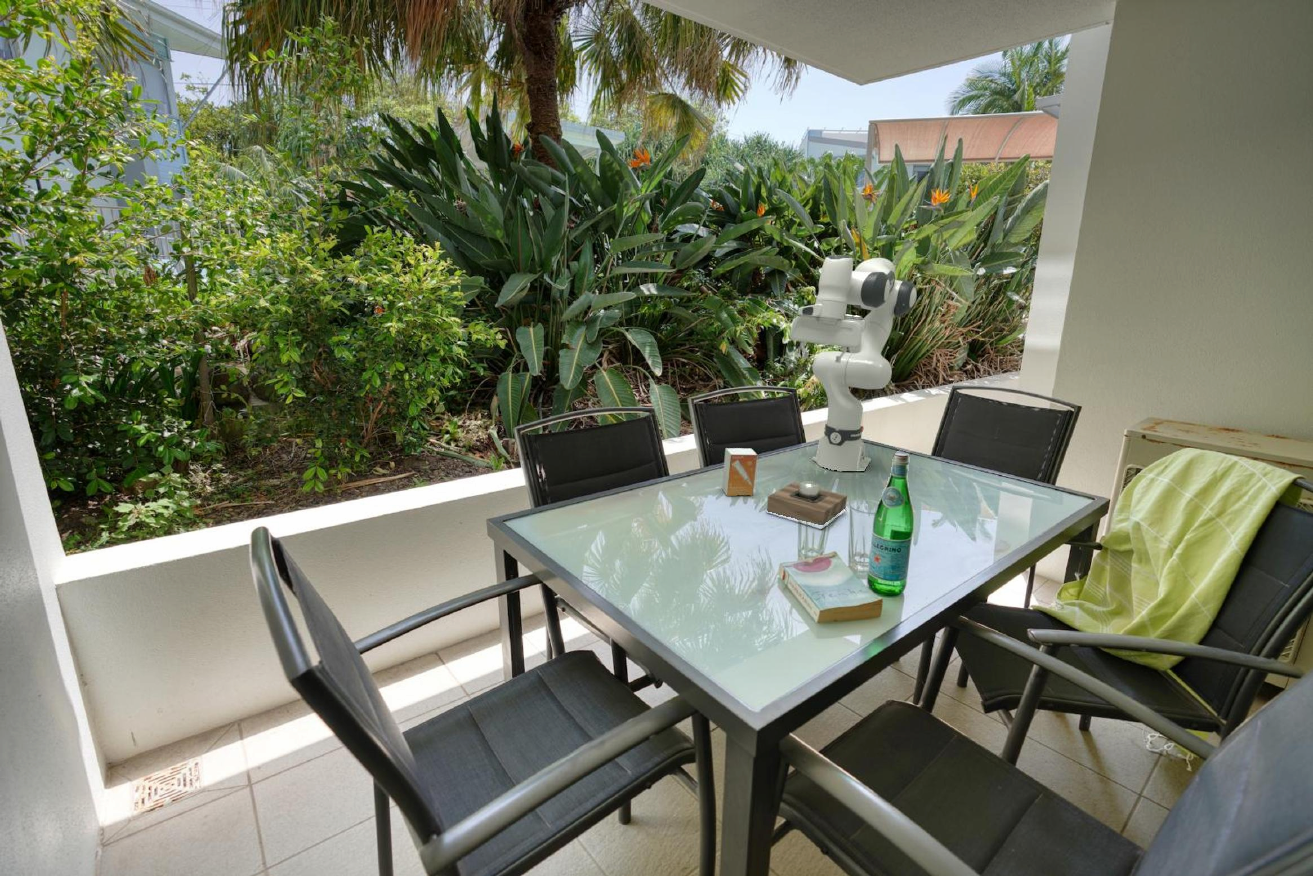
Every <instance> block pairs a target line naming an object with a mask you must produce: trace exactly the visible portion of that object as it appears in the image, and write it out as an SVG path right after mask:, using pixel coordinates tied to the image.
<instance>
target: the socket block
mask: <svg viewBox="0 0 1313 876" xmlns="http://www.w3.org/2000/svg"><path fill="white" fill-rule="evenodd" d="M799 490H800V482H796V481H793V482H791V483H790V484H788V485H785V486H784V487H782V488H780V489H779V490H777V491H775V492H773V493H772V494H770V495H768V497H767V507H766V512H767V511H768V512H772V513H776V514H778V515H783V516H786V517H791V518H795V519H797V520H802V521H806V522H811V523H814V524H818V525H824V524H825V523H826V522H828V521H829V520H831V519H832V518H833V517H835V516H836V515H837V514H838V513H840V512H841V511H842V510H843V509H845V510H846V508H847V501H848V495H845V494H841V493H837V492H834V491H830V490H826V489H822V488H819V490H818V497H817V500H815V501H812V500H808V499H804V498H801V497H799Z"/></svg>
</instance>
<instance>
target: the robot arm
mask: <svg viewBox="0 0 1313 876" xmlns="http://www.w3.org/2000/svg"><path fill="white" fill-rule="evenodd" d="M853 260H854V259H853V257H852V256H850V255H845V254H844V255H843V254H842V255H840V254H836V255H835V254H831V255H828V256H826V257H825V259H824V262H823V264H822V269H821V270H820V271H821V272H820V276H819V281H818V294H817V296H816V299H815V303H814V304H811V305H807V306H801V307H799V308H798V311H797V314H798V315H797V316H796V317H795V318H794V319H793V322H792V325H791V329H790V332H789V339H790V340H791V341H795V342H800V347H801V350H802V358H804V359H808V358H809V353H810V352H809V351H806V348H805V347H806V346H807V343H811V344H819V345H820V344H821V345H827V346H836V347H841V351H840V350H839V351H837V350H829V351H821V352H819V353H818V354H817V355H816V357H815V358H814V360H813V363H812V373H813V375H814V377H815V378H816V380H818V382H819V383H820V384H821V385H822V388H823V389H824V391H825V394H826V396H827V401H828V404H827V419H826V423H825V425H824V426H825V427H824V429H823V430H824V432H823V436H821V437H820V439H819V441H818V447H817V451H816V455H815V456H812V458H811V460H812V461H814V462H816V464H817V465H818V466H819V467H821V468H823V467H824V469H826V468H828V469H827V470H830V469H831V470H830V471H834V470H837V471H836V472H842V471H853V470H865V469H866V467H867V466H868V464H869V462H870V461H871V462H872V458H870V457H868V456H866V450H867V445H866V444H865V443H864V441H863V440H862V434H863V431H864V426H863V425H862V418H863V412H864V407H863V404H862V402H861V401H860V400H859V399H858V398H856V396H854V395H853V394H852V393H851V391H850V389H849V388H850V387H851V388H857V389H863V390H879V389H883V388H885V387H886V386H887V385H888V384H889V382H890V381H891V379H892V373H893V370H892V366H891V363H890V362H889V361H888V360H887V359H886V358H885V357H884V356H883V355H882V351H883V349H884V347H885V345H886V343H887V341H888V339H889V337H890V335H891V331H892V328H893V323H894V322H893V320H894V318H895V317H896V318H897V319H899V318H902V316H903V315H904V314H907V313H908V312H909V311H910V310H911V309H912V308H913V307H914V304H915V303H916V301H917V297H918V296H917V288H916V285H915V283H913V282H911V281H907V280H898V279H896V267H895V264H894V263H893V262H892V261H891V260H889V259H887V258H885V257H873V258H869V259H866V260H863V261H862V262H861V263H859V264H858V265H857V266H856V267H855V269H854V268H853V267H854V265H853V264H854V261H853ZM853 269H854V270H853ZM848 305H852V306H853V307H854V308H858V309H861V310H863V309H864V310H869V311H870V312H869V313H868V314H867V315H865V317H862V315H853V314H846V313H847V306H848ZM847 350H849V352H847ZM871 462H870V463H871ZM869 465H870V464H869ZM868 467H869V466H868ZM868 467H867V468H868ZM866 470H867V469H866Z"/></svg>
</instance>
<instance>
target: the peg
mask: <svg viewBox="0 0 1313 876" xmlns="http://www.w3.org/2000/svg"><path fill="white" fill-rule="evenodd" d="M799 483H800V490H799V497H801V498H804V499H808V500H812V501H815V500H817V497H818V490H819V489H820V488H819V487H820V484H819V483H817V482H815V481H811V480H802V481H800V482H799Z"/></svg>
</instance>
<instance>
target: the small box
mask: <svg viewBox="0 0 1313 876" xmlns="http://www.w3.org/2000/svg"><path fill="white" fill-rule="evenodd" d="M757 460H758V454H757V452H755V451H754V450H753V449H752V448H742V447H741V448H740V447H739V448H738V447H736V448H735V447H733V448H730V447H729V448H727V447H726V448H725V450H724V461H723V462H724V463H723V474H722V485H721V489H722V491H723V493H724V494H725V496H726V497H738V496H737V495H753V496H754V488H755V480H756V479H755V478H756V469H757Z"/></svg>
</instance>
